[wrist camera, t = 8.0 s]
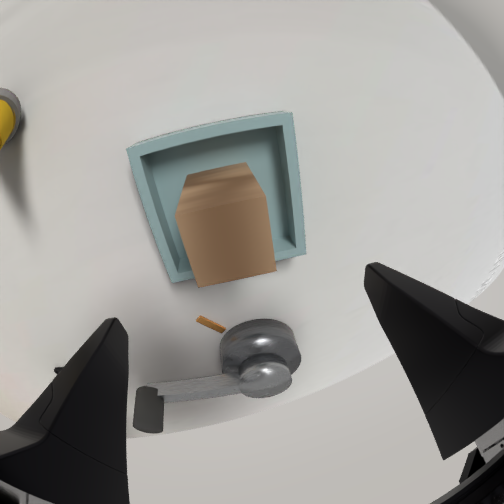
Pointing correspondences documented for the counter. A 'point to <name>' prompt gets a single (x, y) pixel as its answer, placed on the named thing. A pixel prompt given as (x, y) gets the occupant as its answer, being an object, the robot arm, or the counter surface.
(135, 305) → the counter surface
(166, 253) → the tray
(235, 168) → the block
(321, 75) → the counter surface
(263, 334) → the crank base
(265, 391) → the crank
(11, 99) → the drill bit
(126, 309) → the counter surface
